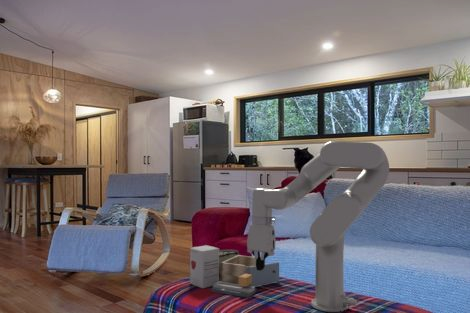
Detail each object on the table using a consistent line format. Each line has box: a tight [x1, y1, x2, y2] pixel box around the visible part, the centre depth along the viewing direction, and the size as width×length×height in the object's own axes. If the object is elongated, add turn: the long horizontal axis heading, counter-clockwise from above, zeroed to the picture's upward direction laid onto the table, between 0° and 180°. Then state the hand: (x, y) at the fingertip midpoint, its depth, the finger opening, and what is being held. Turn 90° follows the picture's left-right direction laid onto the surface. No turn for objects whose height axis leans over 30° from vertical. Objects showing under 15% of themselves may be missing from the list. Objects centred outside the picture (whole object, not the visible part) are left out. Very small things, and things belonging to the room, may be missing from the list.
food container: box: [219, 249, 240, 277], centre depth 179 cm, size 12×6×10 cm, turn 130°
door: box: [246, 261, 280, 288], centre depth 160 cm, size 2×17×8 cm, turn 123°
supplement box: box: [189, 244, 220, 289], centre depth 162 cm, size 9×9×15 cm
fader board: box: [210, 280, 258, 299], centre depth 152 cm, size 16×8×2 cm, turn 63°
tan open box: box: [219, 254, 256, 284], centre depth 166 cm, size 11×16×9 cm
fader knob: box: [239, 274, 252, 288], centre depth 150 cm, size 3×5×5 cm, turn 153°
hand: (260, 269), depth 147 cm, fingers closed
